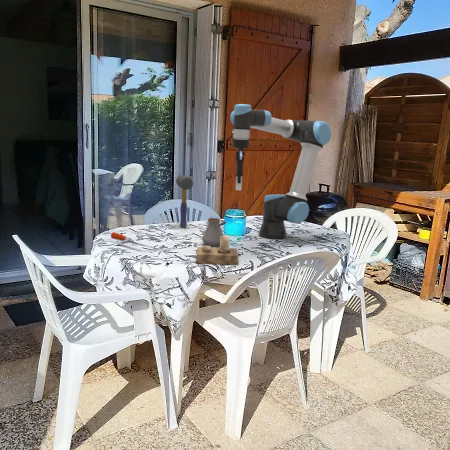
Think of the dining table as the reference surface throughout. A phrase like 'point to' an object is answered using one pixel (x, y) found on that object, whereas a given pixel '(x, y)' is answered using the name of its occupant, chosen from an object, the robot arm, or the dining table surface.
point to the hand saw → (126, 239)
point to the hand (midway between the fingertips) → (238, 190)
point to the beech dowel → (224, 244)
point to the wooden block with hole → (216, 256)
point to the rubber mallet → (184, 196)
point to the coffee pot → (213, 232)
